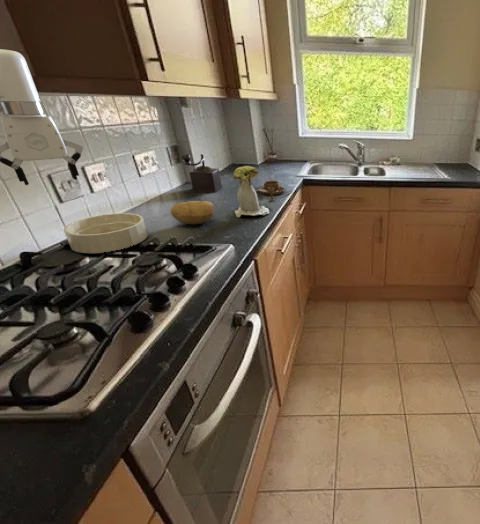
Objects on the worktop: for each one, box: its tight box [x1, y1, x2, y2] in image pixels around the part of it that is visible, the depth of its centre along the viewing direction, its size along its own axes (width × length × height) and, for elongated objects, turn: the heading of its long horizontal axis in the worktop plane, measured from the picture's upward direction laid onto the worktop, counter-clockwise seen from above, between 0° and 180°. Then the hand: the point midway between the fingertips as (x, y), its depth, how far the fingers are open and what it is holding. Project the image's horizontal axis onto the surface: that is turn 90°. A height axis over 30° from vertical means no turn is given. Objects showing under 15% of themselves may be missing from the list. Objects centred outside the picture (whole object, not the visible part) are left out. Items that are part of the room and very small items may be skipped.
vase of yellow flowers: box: [232, 165, 270, 218], centre depth 126 cm, size 12×13×18 cm
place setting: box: [255, 180, 293, 203], centre depth 154 cm, size 18×20×6 cm
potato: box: [170, 200, 215, 226], centre depth 117 cm, size 10×14×8 cm
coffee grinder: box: [180, 153, 223, 194], centre depth 153 cm, size 16×11×18 cm
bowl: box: [63, 212, 149, 254], centre depth 102 cm, size 19×19×6 cm
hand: (51, 181), depth 87 cm, fingers open, 9 cm apart
